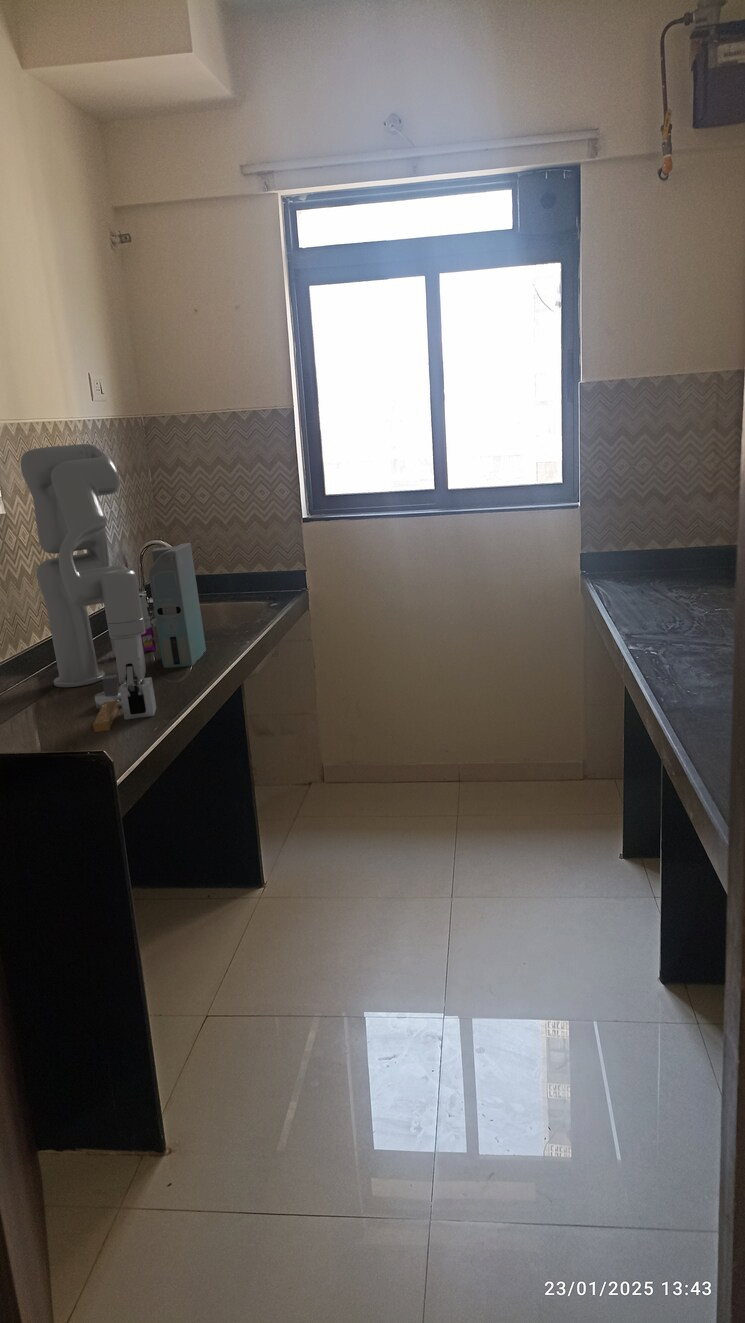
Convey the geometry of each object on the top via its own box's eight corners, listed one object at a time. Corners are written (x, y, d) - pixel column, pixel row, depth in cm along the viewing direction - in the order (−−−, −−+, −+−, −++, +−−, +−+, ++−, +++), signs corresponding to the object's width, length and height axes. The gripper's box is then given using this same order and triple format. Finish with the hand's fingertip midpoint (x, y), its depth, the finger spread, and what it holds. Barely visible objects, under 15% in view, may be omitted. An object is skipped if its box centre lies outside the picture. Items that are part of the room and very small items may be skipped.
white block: (127, 711, 204) (122, 680, 202) (156, 707, 205) (151, 677, 203) (124, 719, 198) (119, 688, 196) (153, 715, 199) (148, 684, 197)
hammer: (99, 701, 215) (94, 674, 213) (134, 697, 216) (129, 670, 214) (81, 734, 191) (76, 703, 190) (121, 728, 192) (116, 698, 190)
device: (179, 653, 257) (162, 545, 249) (206, 651, 256) (190, 542, 249) (163, 668, 241) (145, 553, 234) (192, 666, 240) (175, 551, 233)
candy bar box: (148, 648, 267) (139, 592, 263) (156, 650, 263) (147, 593, 259) (112, 657, 260) (102, 600, 256) (120, 659, 256) (110, 601, 252)
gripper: (113, 622, 205) (127, 700, 209) (102, 638, 188) (117, 722, 192) (148, 618, 206) (160, 696, 210) (140, 634, 189) (153, 718, 193)
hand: (139, 708), depth 201 cm, fingers closed on white block, 6 cm apart
